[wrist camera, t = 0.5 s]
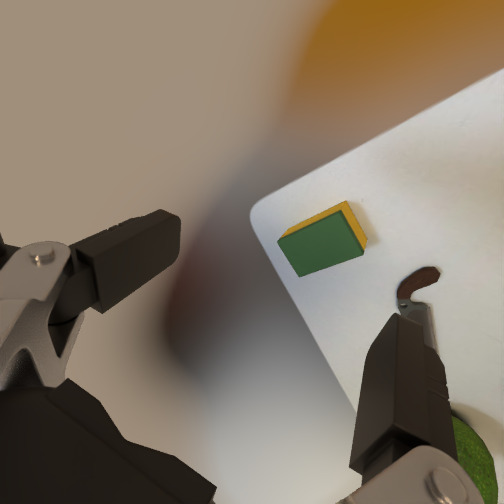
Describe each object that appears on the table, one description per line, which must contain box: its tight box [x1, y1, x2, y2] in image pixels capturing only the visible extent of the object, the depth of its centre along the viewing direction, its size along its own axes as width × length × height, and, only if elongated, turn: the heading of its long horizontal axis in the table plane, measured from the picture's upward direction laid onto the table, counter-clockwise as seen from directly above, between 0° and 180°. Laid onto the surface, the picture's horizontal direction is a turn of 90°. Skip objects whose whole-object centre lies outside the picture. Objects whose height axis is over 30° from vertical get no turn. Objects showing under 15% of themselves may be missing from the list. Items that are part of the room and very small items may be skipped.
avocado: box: [452, 416, 498, 504], centre depth 29 cm, size 8×8×12 cm
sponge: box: [277, 201, 367, 277], centre depth 28 cm, size 4×7×4 cm, turn 127°
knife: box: [397, 267, 440, 352], centre depth 29 cm, size 14×4×1 cm, turn 22°
